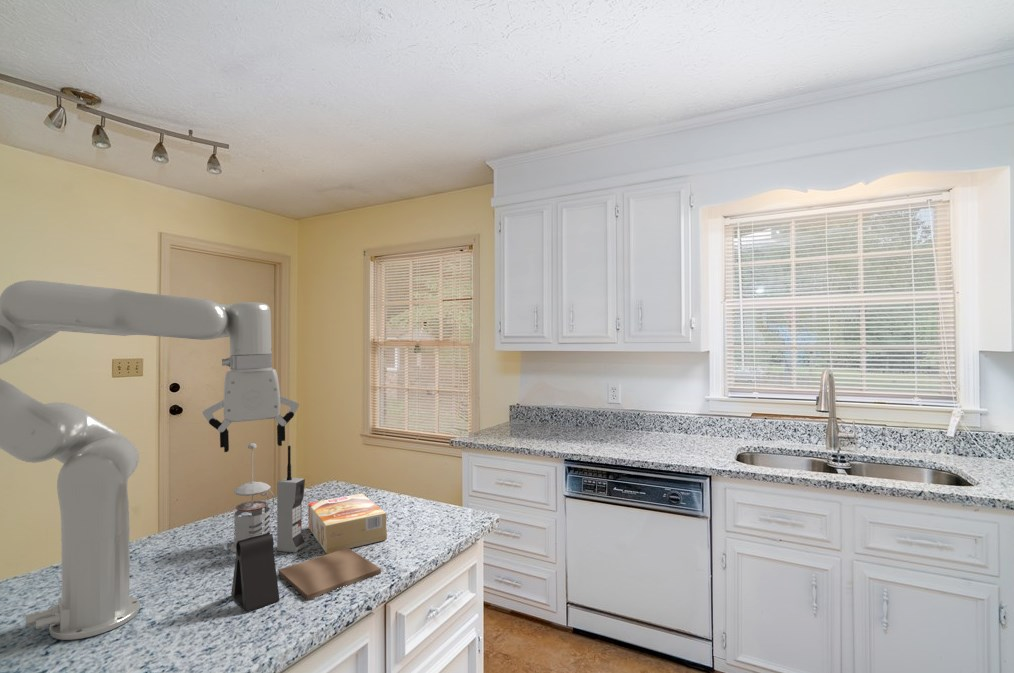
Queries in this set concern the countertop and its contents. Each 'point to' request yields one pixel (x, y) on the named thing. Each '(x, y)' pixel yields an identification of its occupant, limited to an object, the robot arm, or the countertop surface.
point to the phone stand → (255, 573)
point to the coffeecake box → (346, 522)
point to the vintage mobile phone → (290, 512)
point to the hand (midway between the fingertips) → (253, 447)
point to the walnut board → (328, 573)
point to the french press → (251, 510)
